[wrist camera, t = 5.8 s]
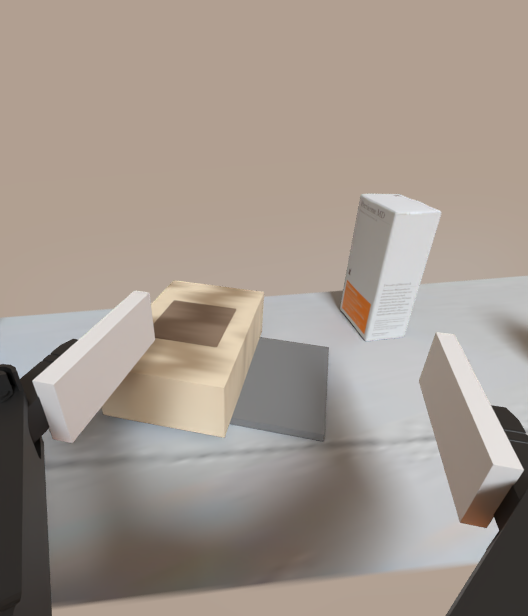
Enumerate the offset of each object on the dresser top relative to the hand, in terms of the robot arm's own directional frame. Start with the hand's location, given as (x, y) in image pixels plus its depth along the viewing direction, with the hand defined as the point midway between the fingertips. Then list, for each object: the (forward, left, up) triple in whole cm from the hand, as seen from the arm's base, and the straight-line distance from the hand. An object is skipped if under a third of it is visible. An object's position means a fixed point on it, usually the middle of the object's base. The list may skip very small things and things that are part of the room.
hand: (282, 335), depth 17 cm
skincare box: (+7, +18, -9) cm, 21 cm away
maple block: (-7, +1, -6) cm, 10 cm away
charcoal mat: (-5, +7, -9) cm, 12 cm away
